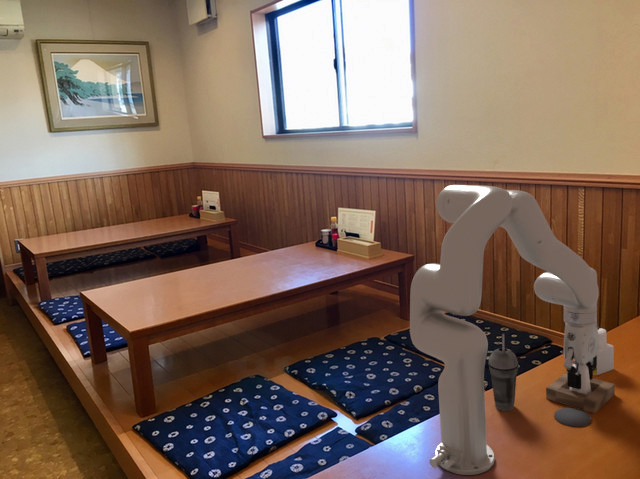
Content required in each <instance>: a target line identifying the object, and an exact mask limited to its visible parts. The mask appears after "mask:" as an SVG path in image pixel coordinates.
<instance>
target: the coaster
mask: <svg viewBox="0 0 640 479" xmlns="http://www.w3.org/2000/svg"><path fill="white" fill-rule="evenodd" d="M554 419H555V420H556V421H557V422H558V423H559V424H561V425H565V426H568V427H574V428H583V427H586V426H588V425H589V424H591V422H592V417H591V415H590V414H589V413H588V412H587V411H584V410H581V409H578V408H575V407H563V408H559V409H557V410H555V412H554Z"/></svg>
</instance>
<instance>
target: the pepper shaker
mask: <svg viewBox="0 0 640 479" xmlns="http://www.w3.org/2000/svg"><path fill="white" fill-rule="evenodd" d="M573 361H576V359H573ZM572 366H574V367H575V368H576V366H577V364H572ZM579 374H581V389H576V388H572V387H570V388H569V390H572V391H576V392H579V393H582V394H586V395H589V394H590V393H591V386H590V378H589V370H588V367H587V365H586V364H584V365H581V367H580V373H579Z"/></svg>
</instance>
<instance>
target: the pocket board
mask: <svg viewBox="0 0 640 479" xmlns="http://www.w3.org/2000/svg"><path fill="white" fill-rule="evenodd" d="M590 386H591V393H590V394H589V395H586V394H582V393H579V392H576V391H572V390H569V388H570V387H569V386H568V381H567V371H566V372H565V373H564V374H562V375H561V376H560V377H558V378H557V379H555V381H553V382H552V383H551V384H550V385H548V386H546V388H545V391H546V393H545V394H546V395H545V396H546V397H545V398H546V400H551V401H553V402H557V403H559V404H563V405H565V406H569V407H571V408H574V409H579V410H582V411H584V412H587V413H588V412H589V413H592V414H595V413H597V412H598V411H599V410H600V409H601V408H602V407H604V405H606V403H608V402H609V401H610V400H611V399H612V398H613V397H614V396H615V394H616V393H615V389H616V388H615V387H616V384H615V383H613V382H609V381H605V380H600V379H598V378H593V379H592V380H590Z"/></svg>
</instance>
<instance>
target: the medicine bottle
mask: <svg viewBox="0 0 640 479" xmlns="http://www.w3.org/2000/svg"><path fill="white" fill-rule="evenodd" d="M597 328H598V343H599V352H598V354H597V355H596V356H595V357H594V358H593V364H591V365H593V376H599V375H602V374H605V373H607V372H611V371H613V370H614V368H615V364H614V362H615V361H614V360H615V347H614V345H613V344H609V343H607V335H608V334H607V330H606V329H605V328H603V327H600V326H597Z"/></svg>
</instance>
